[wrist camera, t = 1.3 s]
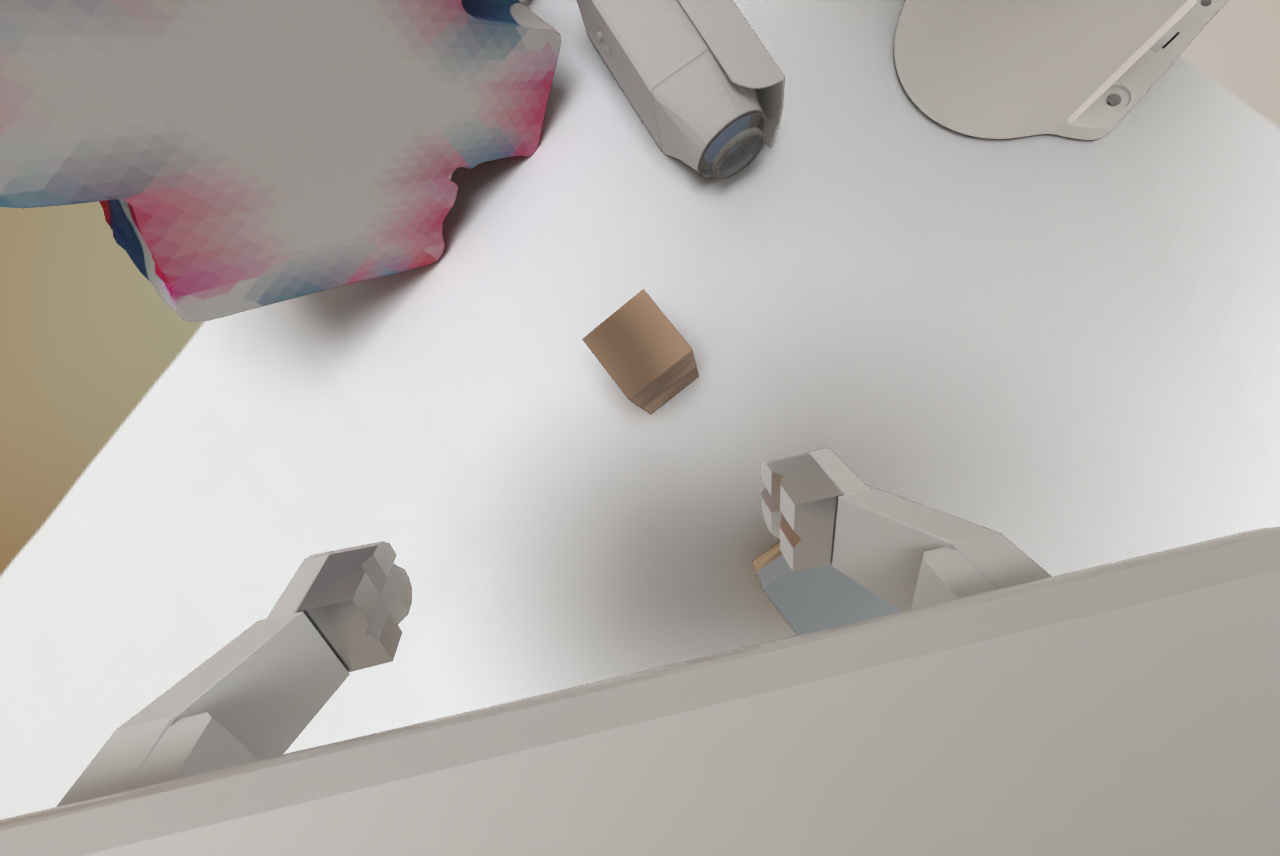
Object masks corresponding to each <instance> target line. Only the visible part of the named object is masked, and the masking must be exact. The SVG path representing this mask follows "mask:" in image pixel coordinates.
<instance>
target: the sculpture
mask: <svg viewBox="0 0 1280 856" xmlns="http://www.w3.org/2000/svg"><path fill="white" fill-rule="evenodd" d="M560 45H561V37H560V34H559V33H558V32H557V31H556V30H555V29H554V28H553V27H551V26H550V25H548V24H547V23H545V22H544V21H543V20H541V19H540V18H539V17H538V16H537V15H535V14H534V13H533V12H532V11H531V10H530V9H529V8H528V7H527V6H525V5H524V4H523V3H521V2H520V1H519V0H0V207H12V208H31V207H44V206H58V205H70V204H78V203H87V202H96V201H100V204H101V206H102V208H103V210H104V215H105V219H106V222H107V223H108V224H109V226H110V227H111V229H112V230H113V237H114V238H115V240H116V242H117V244H119V245H120V246H121V247H122V248H123V249H124V250H126V252H127V253H128V254H129V256H130V258H131V259H132V261H133V262H134V264H135V265H136V267H137V268H138V269H139V271H140V272H141V273H142V274H143V275H144V276H145V277H146V278H147V279H148V280H149V281H150V282H151V283H152V285H153V286H154V288H155V289H156V291H157V292H158V294H159V295H160V297H161V298H162V300H163V301H164V302H165V304H166V305H167V307H169V308H171V309H173V310H175V311H176V312H177V313H178V314H179V316H180V317H181V318H182V319H183V320H185V321H189V322H202V321H209V320H213V319H217V318H221V317H224V316H228V315H232V314H236V313H239V312H243V311H246V310H250V309H254V308H258V307H261V306H265V305H269V304H273V303H277V302H281V301H284V300H288V299H292V298H296V297H300V296H304V295H308V294H311V293H315V292H319V291H323V290H327V289H331V288H335V287H339V286H343V285H347V284H351V283H354V282H359V281H364V280H368V279H373V278H377V277H382V276H386V275H391V274H395V273H399V272H403V271H407V270H411V269H414V268H418V267H421V266H425V265H428V264H431V263H433V262H435V261H437V260H438V259H439V258H440V257H441V255H442V253H443V252H444V248H445V247H444V240H443V237H442V227H443V222H444V220H445V218H446V216H447V214H448V212H449V211H450V209H451V208H452V206H453V204H454V202H455V199H456V196H457V191H458V186H457V185H456V183H454V182H452V181H451V176H452V173H453V172H454V171H455V170H456V169H457V168H459V167H465V168H470V169H472V168H474V167H476V166H477V165H478V164H480V163H483V162H486V161H492V160H496V159H501V158H505V157H511V156H526V157H529V156H532V155H533V153H534V152H535V151H536V149H537V147H538V144H539V140H540V135H541V130H542V125H543V120H544V115H545V111H546V106H547V102H548V97H549V93H550V89H551V84H552V80H553V76H554V72H555V67H556V63H557V59H558V54H559V50H560Z"/></svg>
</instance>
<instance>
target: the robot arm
mask: <svg viewBox="0 0 1280 856" xmlns="http://www.w3.org/2000/svg"><path fill="white" fill-rule="evenodd" d="M1227 1H1228V0H905V3H904V6H903V9H902V12H901V15H900V18H899V21H898V24H897V28H896V33H895V40H894V58H895V64H896V69H897V73H898V76H899V78H900V81H901V83H902V85H903V87H904V89H905V91H906V92H907V94H908V95H909V97H910V98H911V100H912V101H913V102H914V103H915V104H916V106H917V107H918V108H919V109H920V110H921V111H923V112H924V113H925V114H926V115H927V116H929V117H930V118H931V119H933V120H934V121H936V122H937V123H939V124H941V125H943V126H945V127H947V128H949V129H951V130H954V131H956V132H959V133H962V134H966V135H970V136H974V137H980V138H989V139H1009V138H1019V137H1025V136H1031V135H1038V134H1055V135H1059V136H1064V137H1069V138H1075V139H1082V140H1094V139H1099V138H1101V137H1103V136H1105V135H1107V134H1108V133H1109V132H1110V131H1111V130H1112V129H1113V128H1114V127H1115V126H1116V125H1117V124H1118V123H1119V122H1120V120H1121V119H1122V118H1123V117H1124V116H1125V115H1126V114H1127V113H1128V112H1129V111H1130V109H1131V108H1132V107H1133V106H1134V105H1135V104H1136V103H1137V102H1138V100H1139V99H1140V98H1141V97H1142V96H1143V95H1144V94H1145V93H1146V92H1147V90H1148V89H1149V88H1150V87H1151V86H1152V85H1153V84H1154V83H1155V82H1156V80H1157V79H1158V78H1159V77H1160V76H1161V75H1162V74H1163V73H1164V72H1165V70H1166V69H1167V68H1168V67H1169V66H1170V65H1171V64H1172V63H1173V61H1174V60H1175V59H1176V58H1177V57H1178V56H1179V55H1180V54H1181V53H1182V51H1183V50H1184V49H1185V48H1186V47H1187V46H1188V45H1189V44H1190V42H1191V41H1192V40H1193V39H1194V38H1195V37H1196V36H1197V35H1198V34H1199V33H1200V31H1201V30H1202V29H1203V28H1204V27H1205V26H1206V25H1207V24H1208V22H1209V21H1210V20H1211V19H1212V18H1213V17H1214V16H1215V14H1217V12H1218V11H1219V10H1220V9H1221V8H1222V7H1223V6H1224V5H1225V4H1226V2H1227ZM1107 102H1109V103H1110V104H1111V105H1112V106H1110V105H1108V104H1107ZM760 479H761V481H762V482H763V484H764V485H765V489H764V490H763V491H762V493H761V494H760V495H761V508H762V513H763V517H764V520H765V523H766V525H767V528H768V529H769V531H770V533H771V535H773V536H774V537H776V538H778V539H780V551H781V552H782V554H783V556H784V558H785V559H786V561H787V563H788V564H789V566H790V568H791V570H792V571H793V572H795V571H800V570H806V569H811V568H816V567H821V566H826V565H831V564H832V567H834V568H835V569H837V570H839V571H840V572H842V573H843V574H845V575H846V576H848V577H849V578H851V579H853V580H854V581H856V582H857V583H859V584H860V585H862V586H863V587H865V588H867V589H868V590H870V591H871V592H873V593H874V594H876V595H877V596H879V597H881V598H882V599H884V600H885V601H887V602H888V603H890V604H891V605H893V606H895V607H896V608H898V609H899V610H901V611H902V612H898V613H894V614H889V615H885V616H881V617H876V618H872V619H868V620H863V621H859V622H855V623H850V624H846V625H842V626H837V627H833V628H829V629H824V630H820V631H816V632H812V633H807V634H803V635H799V636H794V637H790V638H786V639H781V640H777V641H773V642H768V643H764V644H760V645H755V646H751V647H747V648H742V649H738V650H734V651H729V652H725V653H721V654H716V655H712V656H708V657H703V658H699V659H695V660H690V661H686V662H682V663H677V664H673V665H668V666H664V667H660V668H655V669H651V670H647V671H642V672H638V673H634V674H629V675H625V676H621V677H617V678H612V679H608V680H604V681H599V682H595V683H591V684H586V685H582V686H578V687H573V688H569V689H565V690H560V691H556V692H552V693H547V694H543V695H539V696H534V697H530V698H526V699H521V700H517V701H513V702H509V703H504V704H500V705H496V706H491V707H487V708H483V709H478V710H474V711H470V712H465V713H461V714H457V715H452V716H448V717H444V718H439V719H435V720H431V721H426V722H422V723H418V724H413V725H409V726H405V727H400V728H396V729H392V730H387V731H383V732H379V733H375V734H370V735H366V736H362V737H357V738H353V739H349V740H344V741H340V742H336V743H331V744H327V745H323V746H318V747H314V748H310V749H305V750H301V751H297V752H292V753H288V754H284V755H283V753H284V752H285V751H286V750H287V749H288V747H289V746H290V745H291V744H292V743H293V742H294V740H295V739H296V738H297V737H298V736H299V734H300V733H301V732H302V731H303V730H304V728H305V727H306V726H307V725H308V724H309V722H310V721H311V720H312V719H313V718H314V716H315V715H316V714H317V713H318V712H319V710H320V709H321V708H322V707H323V706H324V704H325V703H326V702H327V701H328V700H329V698H330V697H331V696H332V695H333V694H334V692H335V691H336V690H337V689H338V688H339V686H340V685H341V684H342V683H343V682H344V680H345V679H346V678H347V677H348V676H349V674H350V673H349V672H351V671H355V670H359V669H363V668H367V667H371V666H375V665H379V664H383V663H387V662H391V661H393V659H394V656H395V653H396V650H397V647H398V644H399V641H400V638H401V635H402V631H401V629H400V628H399V626H398V624H399V623H400V622H401V621H402V620H403V619H404V618H405V617H406V616H407V615H408V613H409V610H410V606H411V603H412V587H411V583H410V579H409V577H408V575H407V573H406V571H405V570H404V569H402V568H400V567H399V566H397V565H395V564H393V563H394V560H395V557H396V553H395V552H394V550H393V548H392V547H391V545H390V544H389V543H386V542H378V543H372V544H367V545H361V546H356V547H351V548H345V549H340V550H336V551H330V552H325V553H320V554H315V555H311V556H310V557H308V558H306V559H304V561H303V562H302V564H301V566H300V567H299V569H298V570H297V572H296V573H295V575H294V577H293V578H292V580H291V581H290V583H289V584H288V586H287V588H286V589H285V591H284V592H283V594H282V595H281V597H280V599H279V600H278V602H277V603H276V605H275V606H274V608H273V610H272V611H271V613H270V614H269V616H268V617H267V619H265V620H261V621H257V622H256V623H255V624H254V625H252V626H251V627H250V628H248V629H247V630H246V631H244V632H243V633H242V634H241V635H239V636H238V637H237V638H235V639H234V640H233V641H231V642H230V643H229V644H228V645H226V646H225V647H224V648H222V649H221V650H220V651H218V652H217V653H216V654H215V655H213V656H212V657H211V658H209V659H208V660H207V661H205V662H204V663H203V664H201V665H200V666H199V667H198V668H196V669H195V670H194V671H192V672H191V673H190V674H188V675H187V676H186V677H185V678H183V679H182V680H181V681H179V682H178V683H177V684H175V685H174V686H173V687H172V688H170V689H169V690H168V691H166V692H165V693H164V694H162V695H161V696H160V697H158V698H157V699H156V700H155V701H153V702H152V703H151V704H149V705H148V706H147V707H145V708H144V709H143V710H142V711H140V712H139V713H138V714H136V715H135V716H134V717H132V718H131V719H130V720H129V721H127V722H126V723H125V724H123V725H122V726H121V727H119V728H118V729H117V730H116V731H115V732H114V733H113V734H112V736H111V737H110V738H109V740H108V741H107V742H106V743H105V745H104V746H103V747H102V749H101V750H100V751H99V753H98V754H97V755H96V756H95V758H94V759H93V760H92V762H91V763H90V764H89V765H88V767H87V768H86V769H85V771H84V772H83V773H82V775H81V776H80V777H79V778H78V780H77V781H76V782H75V784H74V785H73V786H72V787H71V789H70V790H69V791H68V793H67V794H66V795H65V796H64V798H63V799H62V800H61V802H60V803H59V804H58V806H57V807H55V808H50V809H46V810H42V811H37V812H33V813H29V814H24V815H20V816H16V817H11V818H7V819H3V820H0V856H1280V527H1274V528H1264V529H1258V530H1252V531H1247V532H1242V533H1238V534H1234V535H1230V536H1226V537H1221V538H1217V539H1213V540H1209V541H1205V542H1201V543H1196V544H1192V545H1188V546H1183V547H1179V548H1175V549H1170V550H1166V551H1162V552H1157V553H1153V554H1149V555H1144V556H1140V557H1136V558H1131V559H1127V560H1123V561H1118V562H1114V563H1110V564H1105V565H1101V566H1097V567H1092V568H1088V569H1084V570H1080V571H1075V572H1071V573H1067V574H1062V575H1058V576H1054V577H1052V576H1051V575H1049V574H1048V573H1047V572H1046V571H1045V570H1043V569H1042V568H1041V567H1040V566H1039V565H1038V564H1036V563H1035V562H1034V561H1033V560H1032V559H1030V558H1029V557H1028V556H1027V555H1026V554H1025V553H1023V552H1022V551H1021V550H1020V549H1019V548H1017V547H1016V546H1015V545H1014V544H1013V543H1012V542H1010V541H1009V540H1008V539H1007V538H1006V537H1004V536H1003V535H1002V534H1001V533H999V532H996V531H993V530H990V529H987V528H985V527H982V526H979V525H976V524H974V523H971V522H968V521H965V520H963V519H960V518H957V517H954V516H951V515H949V514H946V513H943V512H940V511H938V510H935V509H932V508H929V507H927V506H924V505H921V504H918V503H915V502H913V501H910V500H907V499H904V498H902V497H899V496H896V495H893V494H891V493H888V492H885V491H882V490H879V489H872V490H870V489H869V488H868V487H867V486H866V485H865V484H864V483H863V482H862V481H861V480H860V479H859V478H858V477H857V476H856V475H855V474H854V473H853V472H852V471H851V469H850V468H849V467H848V466H847V465H846V464H845V463H844V462H843V461H842V460H841V459H840V458H839V457H838V456H837V455H836V454H835V453H834V452H833V451H832V450H831V449H828V448H825V449H821V450H817V451H812V452H808V453H805V454H803V455H798V456H793V457H789V458H784V459H779V460H774V461H770V462H765V463H762V464H761V468H760Z"/></svg>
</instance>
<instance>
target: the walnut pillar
mask: <svg viewBox="0 0 1280 856" xmlns="http://www.w3.org/2000/svg"><path fill="white" fill-rule="evenodd" d="M582 340H583V341H584V342H585V343H586V345H587V346H588V347H589V349H590V350H591V351H592V353H593V354H594V355H595V356H596V358H597V359H598V360H599V362H600V363H601V364H602V366H603V367H604V368H605V369H606V371H607V372H608V373H609V375H610V376H611V377H612V379H613V380H614V381H615V382H616V384H617V385H618V386H619V388H620V389H621V390H622V392H623V393H624V394H625V395H626V397H627V398H628V399H629V400H630V401H631V402H633V403H635V404H636V405H638V406H639V407H641V408H642V409H644V410H645V411H647V412H648V413H650V414H652V413H653V412H655V411H656V410H657V409H658V408H660V407H661V406H662V405H663V404H665V403H666V402H667V401H669V400H670V399H671V398H672V397H674V396H675V395H676V394H677V393H679V392H680V391H681V390H683V389H684V388H685V387H686V386H688V385H689V384H690V383H691V382H693V381H694V380H695V379H696V378H698V377H699V375H698V371H697V366H696V362H695V358H694V354H693V350H692V348H691V347H690V346H689V345H688V343H687V342H686V341H685V340H684V338H683V337H682V336H681V335H680V333H679V332H678V331H677V330H676V329H675V327H674V326H673V325H672V324H671V322H670V321H669V320H668V319H667V317H666V316H665V315H664V314H663V313H662V311H661V310H660V309H659V308H658V306H657V305H656V304H655V303H654V301H653V300H652V299H651V298H650V296H649V295H648V294H647V293H646V292H645V290H644V289H643V290H642V291H640V292H639V293H638V294H637V295H636V296H634V297H633V298H632V299H631V300H629V301H628V302H627V303H626V304H625V305H623V306H622V307H621V308H620V309H619V310H617V311H616V312H615V313H614V314H612V315H611V316H610V317H609V318H608V319H606V320H605V321H604V322H603V323H601V324H600V325H599V326H598V327H597V328H595V329H594V330H593V331H592V332H590V333H589V334H588V335H587V336H586V337H584V338H583V339H582Z"/></svg>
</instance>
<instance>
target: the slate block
mask: <svg viewBox="0 0 1280 856" xmlns="http://www.w3.org/2000/svg"><path fill="white" fill-rule="evenodd" d="M757 574H758V577H759V580H760V583H761V586H762V589H763V591H764V592H765V593H766V594H767V596H768V597H769V598H770V600H771V601H772V602H773V604H774V605H775V606H776V608H777V609H778V610H779V612H780V613H781V614H782V616H783V617H784V618H785V620H786V621H787V622H788V624H789V625H790V626H791V628H792V629H793V630H794V632H795V633H796V634H797V635H798V636H799V635H803V634H807V633H812V632H816V631H820V630H824V629H829V628H833V627H837V626H842V625H846V624H850V623H855V622H859V621H863V620H868V619H872V618H876V617H881V616H885V615H889V614H894V613H898V612H902V611H901V610H899V609H898V608H896V607H895V606H893V605H891V604H890V603H888V602H887V601H885V600H884V599H882V598H881V597H879V596H877V595H876V594H874V593H873V592H871V591H870V590H868V589H867V588H865V587H863V586H862V585H860V584H859V583H857V582H856V581H854V580H853V579H851V578H849V577H848V576H846V575H845V574H843V573H842V572H840V571H839V570H837V569H835V568H834V567H832V564H831V565H826V566H821V567H816V568H811V569H806V570H800V571H795V572H793V571H792V570H791V568H790V566H789V564H788V563H787V561H786V559H785V558H784V556H783V554H781V555H780V556H779V557H777V558H776V559H774V560H773V561H772V562H770V563H769V564H768V565H766V566H765V567H763V568H762V569H761V570H759V571H758V572H757Z"/></svg>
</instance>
